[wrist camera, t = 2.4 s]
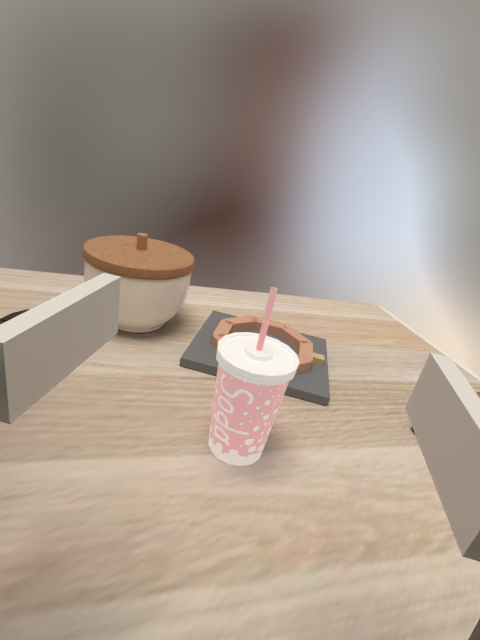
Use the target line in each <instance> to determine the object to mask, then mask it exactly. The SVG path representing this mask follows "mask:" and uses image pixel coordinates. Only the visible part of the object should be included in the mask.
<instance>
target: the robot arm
mask: <svg viewBox="0 0 480 640" xmlns="http://www.w3.org/2000/svg"><path fill="white" fill-rule="evenodd" d="M120 281H121V277H120V276H115V275H111V274H107V273H103V274H101V275H98V276H96V277H94V278H92V279H90V280H88V281H86V282H84V283H82V284H80V285H78V286H76V287H74V288H72V289H70V290H68V291H66V292H64V293H62V294H60V295H58V296H56V297H54V298H52V299H50V300H48V301H46V302H44V303H42V304H40V305H38V306H36V307H34V308H32V309H30V310H29V309H28V310H24V311H19V312H15V313H12V314H10V315H7V316H5V317H3V318H1V319H0V421H1V422H4V423H8V424H11V423H12V422H13V421H14V420H15V419H17V418H18V417H19V416H20V415H21V414H23V413H24V412H25V411H26V410H27V409H28V408H30V407H31V406H32V405H33V404H34V403H36V402H37V401H38V400H39V399H40V398H42V397H43V396H44V395H45V394H46V393H47V392H49V391H50V390H51V389H52V388H53V387H55V386H56V385H57V384H58V383H59V382H60V381H62V380H63V379H64V378H65V377H66V376H68V375H69V374H70V373H71V372H72V371H73V370H75V369H76V368H77V367H78V366H79V365H81V364H82V363H83V362H84V361H85V360H87V359H88V358H89V357H90V356H91V355H92V354H94V353H95V352H96V351H97V350H98V349H100V348H101V347H102V346H103V345H104V344H105V343H107V342H108V341H109V340H110V339H111V338H113V337H114V336H115V335H116V334H117V332H118V315H119V298H120ZM405 409H406V412H407V414H408V417H409V419H410V422H411V425H412V427H413V430H414V432H415V435H416V437H417V440H418V443H419V445H420V448H421V450H422V453H423V456H424V458H425V461H426V463H427V466H428V469H429V471H430V474H431V476H432V479H433V481H434V484H435V487H436V489H437V492H438V494H439V497H440V500H441V502H442V505H443V507H444V510H445V513H446V515H447V518H448V520H449V523H450V526H451V528H452V531H453V533H454V536H455V538H456V541H457V544H458V546H459V549H460V551H461V554H462V556H463V557H466V558H470V559H473V560H476V561H480V398H479V396H478V395H477V394H476V392H475V391H474V390H473V388H472V387H471V385H470V384H469V383H468V381H467V380H466V379H465V377H464V376H463V374H462V373H461V372H460V370H459V369H458V368H457V366H456V365H455V363H454V362H453V361H452V359H451V358H450V357H446V356H442V355H438V354H434V353H430V355H429V357H428V359H427V361H426V364H425V366H424V368H423V370H422V372H421V375H420V377H419V379H418V381H417V383H416V386H415V388H414V390H413V392H412V394H411V397H410V399H409V401H408V403H407V405H406V408H405ZM468 640H480V619H479V621H478V623H477V625H476V627H475V628H474V630H473V632H472V634H471V636H470V638H469V639H468Z"/></svg>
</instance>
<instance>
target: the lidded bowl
mask: <svg viewBox="0 0 480 640" xmlns="http://www.w3.org/2000/svg"><path fill="white" fill-rule="evenodd" d="M83 257H84V278H85V282H86V281H88V280H90V279H92V278H94V277H96V276H98V275H101V274H103V273H107V274H111V275H115V276H120V277H121V281H120V298H119V315H118V330H121V331H125V332H131V333H146V332H152V331H155V330H158V329H159V328H161V327H162V326H163V324H164V323H166V322H167V321H169V320H170V319H171V318H172V317H174V316H175V315H176V313H177V312H178V311H179V310H180V308H181V306H182V305H183V303H184V301H185V298H186V296H187V292H188V289H189V285H190V280H191V273H192V270H193V267H194V261H195V260H194V257H193V256H192V254H191V253H189V252H188V251H186V250H185V249H183V248H180V247H178V246H176V245H173V244H170V243H167V242H163V241H160V240H155V239H149V238H148V235H147V234H144V233H137V237H135V236H118V235H117V236H103V237H97V238H93V239H91V240H88V241H87V242H85V244H84V245H83Z"/></svg>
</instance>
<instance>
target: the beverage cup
mask: <svg viewBox="0 0 480 640" xmlns="http://www.w3.org/2000/svg"><path fill="white" fill-rule="evenodd" d="M277 290H278V289H277V288H276V287H271V289H270V293H269V297H268V301H267V305H266V310H265V314H264V318H263V322H262V326H261V330H260V334H257V333H251V332H235V333H232V334H228V335H225V336H224V337H223V338H221V339H220V340H219V341H218V345H217V354H216V360H217V361H218V370H217V378H216V386H215V394H214V401H213V409H212V417H211V425H210V432H209V442H208V445H209V447H210V450H211V452H212V453H213V454H214V455H215V456H216V457H217V458H218V459H219V460H221V461H223V462H225V463H227V464H229V465H236V466H245V465H250V464H253V463H254V462H256V461H257V460H258V459H259V458H260V456H261V454H262V452H263V449H264V446H265V444H266V441H267V438H268V436H269V433H270V431H271V428H272V425H273V423H274V420H275V417H276V415H277V412H278V409H279V407H280V404H281V401H282V399H283V396H284V394H285V391H286V388H287V386H288V383H289V381H290V380H292V379H293V377H294V375H295V373H296V370H297V368H298V366H299V360H298V356H297V354H296V353H295V352H294V351H293V350H292V349H291V348H290V347H289V346H288V345H286V344H284V343H283V342H281V341H279V340H277V339H275V338H272V337H269V336H266V333H267V329H268V326H269V322H270V318H271V314H272V310H273V306H274V302H275V298H276V294H277Z"/></svg>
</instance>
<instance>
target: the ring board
mask: <svg viewBox="0 0 480 640" xmlns="http://www.w3.org/2000/svg"><path fill="white" fill-rule="evenodd" d="M262 322H263V318H259V317H256V316H253V317H252V316H244V317H236V316H232V315H228V314H225V313H221V312H217V311H213V312H212V313H211V315H210V316H209V317H208V319H207V320H206V322H205V323H204V325H203V326H202V328H201V329H200V331H199V332H198V333H197V335H196V336H195V338H194V339H193V341H192V342H191V344H190V345H189V347H188V348H187V349H186V351H185V352H184V354H183V355H182V357H181V359H180V366H182V367H186V368H189V369H193V370H197V371H200V372H204V373H208V374H211V375H215V376H217V370H218V361H217V360H216V354H217V345H218V341H219V340H220V339H221V338H223V337H224V336H225V335H228V334H232V333H235V332H251V333H257V334H260V330H261V326H262ZM266 336H269V337H272V338H275V339H277V340H279V341H281V342H283V343H284V344H286V345H288V346H289V347H290V348H291V349H292V350H293V351H294V352H295V353H296V354H297V356H298V360H299V366H298V368H297V370H296V373H295V375H294V377H293V379H292V380H290V381H289V383H288V386H287V388H286V391H285V395H288V396H292V397H296V398H299V399H303V400H307V401H310V402H314V403H318V404H321V405H325V406H327V405H328V402H329V399H330V394H329V380H328V365H327V351H326V339H322V338H318V337H314V336H310V335H306V334H302V333H299V332H297V331H296V330H294V329H293V328H292V327H290V326H289V325H287V324H283V323H279V322H275V321H271V320H270V322H269V326H268V329H267V333H266Z"/></svg>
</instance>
